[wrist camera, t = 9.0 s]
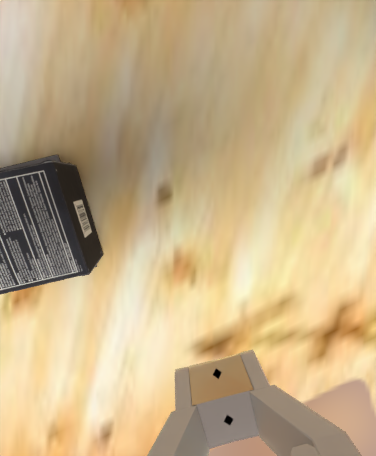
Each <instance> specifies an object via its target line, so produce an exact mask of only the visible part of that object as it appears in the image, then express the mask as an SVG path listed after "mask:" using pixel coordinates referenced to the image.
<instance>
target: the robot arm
mask: <svg viewBox="0 0 376 456" xmlns="http://www.w3.org/2000/svg"><path fill="white" fill-rule="evenodd" d="M175 408H176V411H173V412H171V414H170V415H169V417H168V419H167V421H166V423H165V424H164V426H163V428H162V430H161V432H160V434H159V435H158V437H157V439H156V441H155V443H154V444H153V446H152V448H151V450H150V452H149V453H148V455H147V456H208V455H209V452H210V451H209V449H211V448H214V447H218V446H221V445H224V444H228V443H231V442H234V441H239V440H243V439H247V438H252V437H256V436H259V437H260V438H261V439H262V440H263V441H264V442H265V443H266V445H267V446H268V447H269V448H270V449H271V450H272V451H273V452H274V453H275V454H276V455H277V456H362V455H361V454H360V452H359V451H358V449H357V448H356V446H355V445H354V443H353V442H352V441H351V439H350V438H349V436H348V435H347V433H346V432H345V431H343V430H342V429H340V428H339V427H337V426H336V425H334V424H333V423H331V422H330V421H328V420H327V419H325V418H324V417H322V416H321V415H319V414H318V413H316V412H315V411H313V410H312V409H310V408H309V407H307V406H306V405H304V404H303V403H301V402H300V401H298V400H297V399H295V398H293V397H292V396H290V395H289V394H287V393H286V392H284V391H283V390H281V389H280V388H278V387H277V386H275V385H272V386H270V384H269V382H268V380H267V378H266V376H265V374H264V372H263V370H262V367H261V365H260V363H259V361H258V359H257V357H256V355H255V353H254V351H253V350H249V351H245V352H242V353H239V354H235V355H231V356H228V357H224V358H220V359H217V360H213V361H209V362H204V363H200V364H196V365H192V366H189V367H184V368H180V369H176V370H175Z"/></svg>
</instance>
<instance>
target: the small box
mask: <svg viewBox="0 0 376 456" xmlns="http://www.w3.org/2000/svg"><path fill="white" fill-rule="evenodd" d="M102 256H103V252H102V248H101V245H100V242H99V239H98V236H97V232H96V229H95V226H94V223H93V219H92V216H91V213H90V210H89V206H88V203H87V200H86V197H85V193H84V190H83V187H82V183H81V180H80V177H79V173H78V170H77V167H76V165H73V164H71V163H63V162H58V161H55V160H50V159H49V160H46V161H43V162H41V163H37V164H33V165H28V166H23V167H19V168H14V169H8V170H3V171H0V294H4V293H8V292H13V291H17V290H22V289H26V288H30V287H34V286H39V285H42V284H47V283H51V282H56V281H60V280H64V279H67V278H72V277H76V276H84V275H89V274H90V273H91V271H92V270H93V269H94V267H95V266H96V264H97V263H98V262H99V260H100V259H101V257H102Z"/></svg>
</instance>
